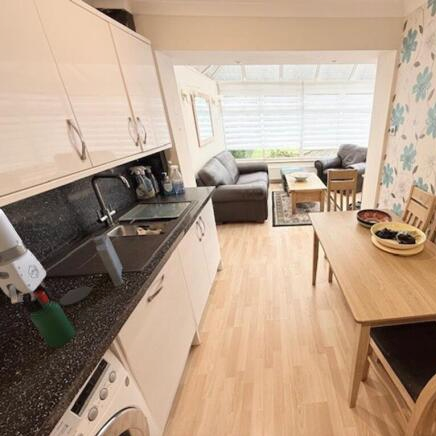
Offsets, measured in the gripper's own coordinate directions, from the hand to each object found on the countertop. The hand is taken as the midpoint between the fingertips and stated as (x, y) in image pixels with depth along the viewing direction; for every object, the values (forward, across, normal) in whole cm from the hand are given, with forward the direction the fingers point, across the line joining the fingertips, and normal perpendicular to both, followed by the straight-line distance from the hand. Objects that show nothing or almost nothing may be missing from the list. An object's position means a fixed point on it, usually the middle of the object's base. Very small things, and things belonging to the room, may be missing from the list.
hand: (41, 304), depth 70 cm
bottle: (+14, 0, 0) cm, 14 cm away
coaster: (+14, +23, +3) cm, 27 cm away
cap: (-1, 0, 0) cm, 1 cm away
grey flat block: (+15, +29, -10) cm, 34 cm away
